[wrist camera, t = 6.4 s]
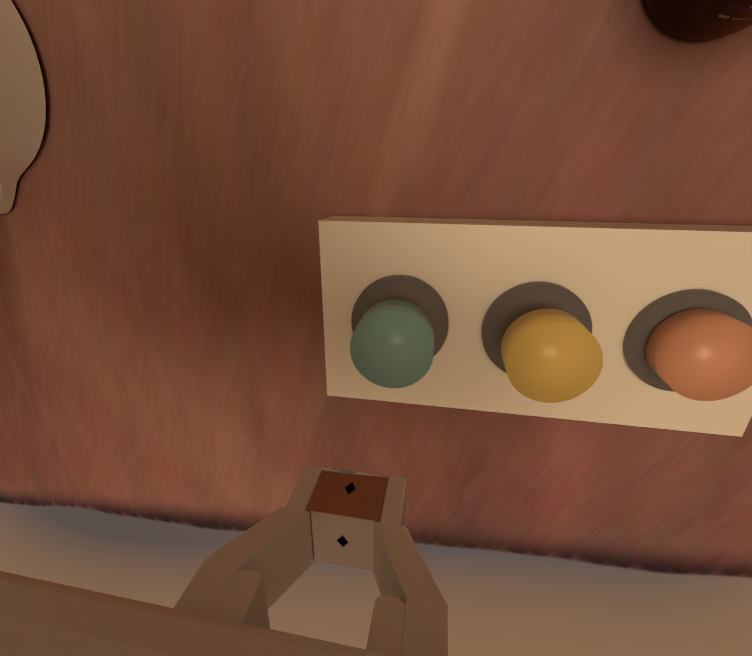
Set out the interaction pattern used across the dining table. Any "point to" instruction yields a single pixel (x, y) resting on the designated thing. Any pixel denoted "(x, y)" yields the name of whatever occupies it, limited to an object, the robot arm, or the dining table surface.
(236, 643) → the robot arm
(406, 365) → the teal button
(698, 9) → the supplement bottle
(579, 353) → the mustard button
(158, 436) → the dining table surface
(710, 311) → the terracotta button
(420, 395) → the button panel
